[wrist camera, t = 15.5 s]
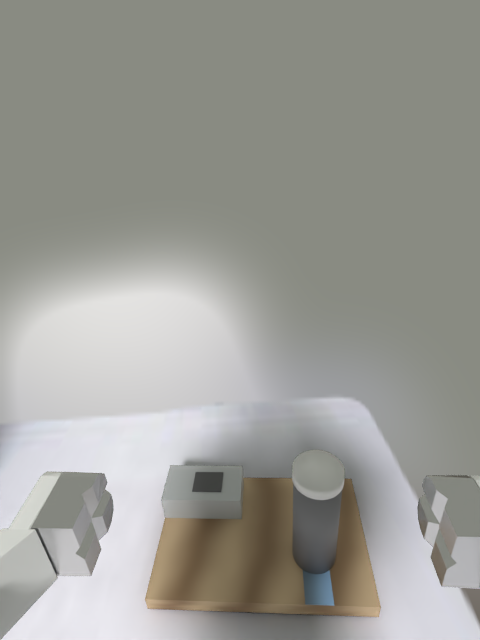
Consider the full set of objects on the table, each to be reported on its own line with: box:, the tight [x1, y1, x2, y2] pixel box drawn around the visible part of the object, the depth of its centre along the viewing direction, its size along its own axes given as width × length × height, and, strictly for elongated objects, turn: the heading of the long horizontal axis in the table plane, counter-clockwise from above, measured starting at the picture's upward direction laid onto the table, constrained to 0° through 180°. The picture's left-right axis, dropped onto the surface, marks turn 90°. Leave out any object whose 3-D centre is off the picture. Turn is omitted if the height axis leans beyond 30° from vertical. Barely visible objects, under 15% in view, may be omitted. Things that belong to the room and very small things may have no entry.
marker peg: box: [292, 450, 345, 574], centre depth 35 cm, size 4×4×11 cm
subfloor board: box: [145, 478, 381, 617], centre depth 40 cm, size 20×13×2 cm, turn 87°
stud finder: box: [161, 465, 244, 519], centre depth 42 cm, size 8×4×3 cm, turn 87°
